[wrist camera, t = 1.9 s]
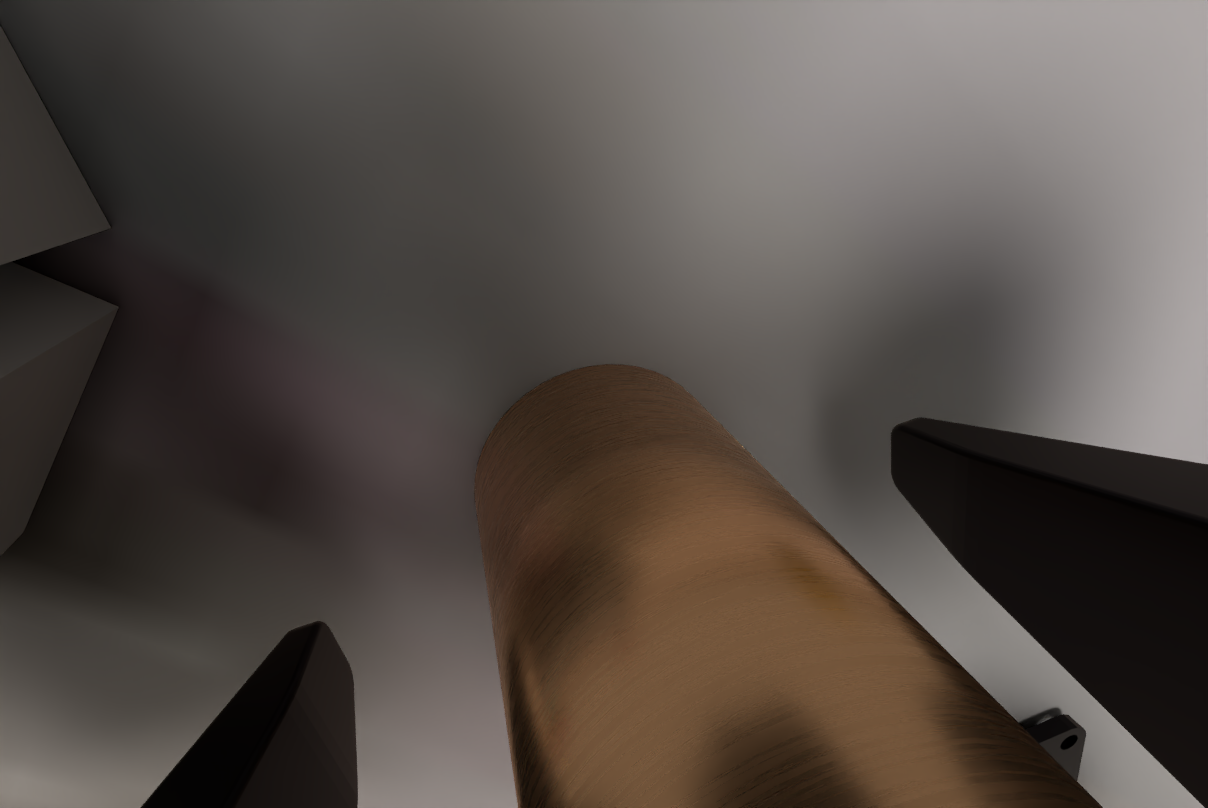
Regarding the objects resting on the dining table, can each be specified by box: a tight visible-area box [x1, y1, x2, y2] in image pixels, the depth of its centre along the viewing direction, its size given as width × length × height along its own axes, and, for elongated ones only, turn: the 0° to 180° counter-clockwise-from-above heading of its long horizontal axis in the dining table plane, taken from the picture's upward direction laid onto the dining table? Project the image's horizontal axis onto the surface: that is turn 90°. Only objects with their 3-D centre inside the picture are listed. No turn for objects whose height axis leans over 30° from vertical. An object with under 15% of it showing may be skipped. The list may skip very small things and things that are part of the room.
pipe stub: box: [474, 364, 1103, 808], centre depth 7 cm, size 4×4×7 cm
